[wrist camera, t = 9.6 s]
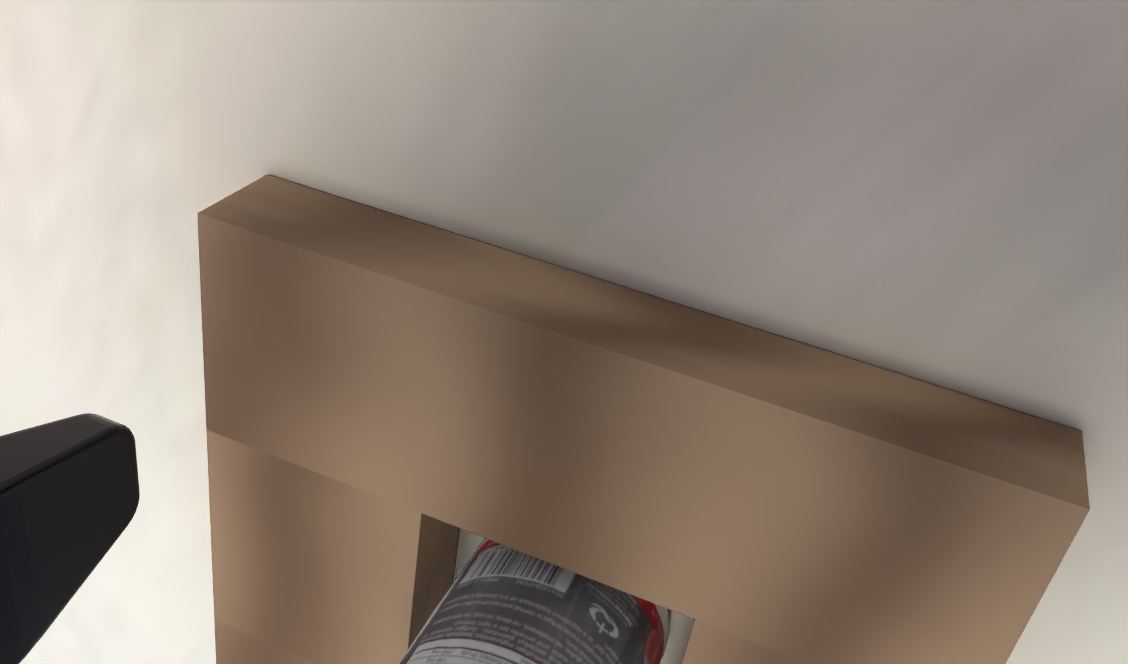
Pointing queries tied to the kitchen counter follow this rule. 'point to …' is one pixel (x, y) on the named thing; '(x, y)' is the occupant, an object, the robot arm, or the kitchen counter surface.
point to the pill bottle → (537, 617)
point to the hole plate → (588, 456)
